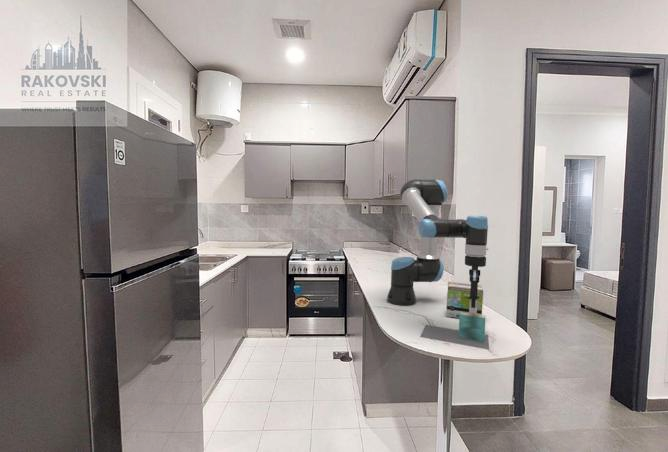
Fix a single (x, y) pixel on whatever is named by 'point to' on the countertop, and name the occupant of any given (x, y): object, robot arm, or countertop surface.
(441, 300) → the countertop surface
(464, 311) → the tea box
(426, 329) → the mat
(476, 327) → the tile
